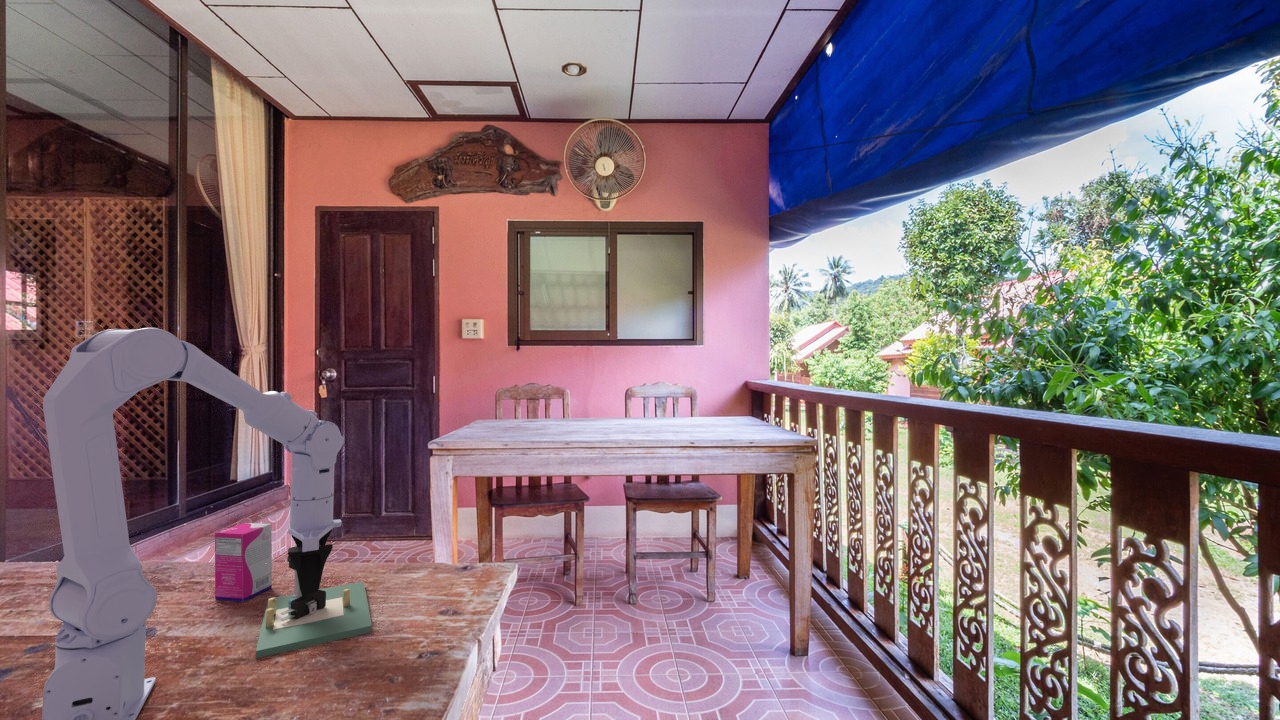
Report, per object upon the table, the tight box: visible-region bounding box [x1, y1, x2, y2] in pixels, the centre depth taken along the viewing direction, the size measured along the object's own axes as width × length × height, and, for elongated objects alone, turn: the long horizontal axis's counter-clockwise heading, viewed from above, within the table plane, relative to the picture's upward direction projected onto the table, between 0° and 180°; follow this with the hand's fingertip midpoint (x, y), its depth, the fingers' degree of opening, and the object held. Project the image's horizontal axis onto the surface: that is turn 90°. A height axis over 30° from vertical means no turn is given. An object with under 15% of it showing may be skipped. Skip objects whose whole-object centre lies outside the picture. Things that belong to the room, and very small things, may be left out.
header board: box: [255, 581, 373, 659], centre depth 81 cm, size 18×14×4 cm
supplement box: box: [214, 522, 273, 603], centre depth 89 cm, size 6×6×12 cm
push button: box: [280, 545, 326, 621], centre depth 80 cm, size 7×5×10 cm
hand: (310, 583), depth 81 cm, fingers open, 7 cm apart
